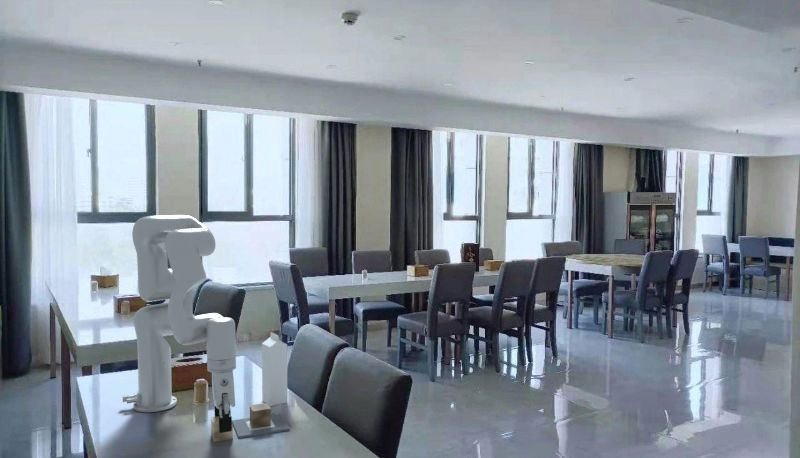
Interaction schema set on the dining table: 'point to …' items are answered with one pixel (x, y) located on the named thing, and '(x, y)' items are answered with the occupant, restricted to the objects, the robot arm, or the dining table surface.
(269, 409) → the walnut block
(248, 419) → the mat
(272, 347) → the milk
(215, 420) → the oak block
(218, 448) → the dining table surface
